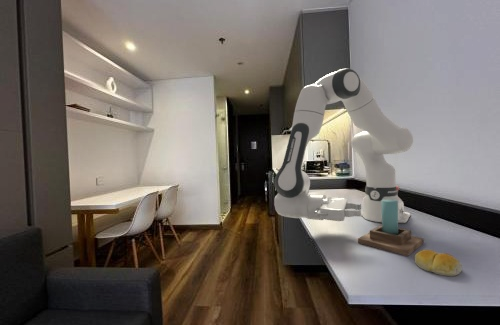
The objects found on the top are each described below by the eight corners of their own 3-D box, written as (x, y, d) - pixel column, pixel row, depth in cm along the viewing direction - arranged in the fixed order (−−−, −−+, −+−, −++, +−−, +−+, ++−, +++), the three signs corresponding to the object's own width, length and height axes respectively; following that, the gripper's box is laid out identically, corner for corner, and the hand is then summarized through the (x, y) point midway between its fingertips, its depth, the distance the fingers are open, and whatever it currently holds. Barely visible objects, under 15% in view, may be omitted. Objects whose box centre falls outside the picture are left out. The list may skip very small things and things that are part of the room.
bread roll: (422, 257, 64) (422, 243, 64) (465, 270, 57) (465, 254, 57) (407, 266, 60) (407, 250, 60) (451, 281, 53) (451, 263, 52)
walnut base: (377, 232, 85) (376, 221, 85) (423, 243, 74) (423, 230, 74) (358, 242, 76) (357, 230, 76) (407, 256, 65) (407, 241, 65)
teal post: (384, 234, 78) (383, 199, 78) (399, 237, 75) (398, 200, 75) (380, 238, 75) (380, 201, 74) (396, 241, 72) (396, 202, 72)
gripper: (312, 204, 75) (360, 207, 69) (322, 194, 93) (361, 195, 87) (313, 223, 75) (360, 228, 69) (323, 209, 93) (361, 212, 87)
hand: (361, 209), depth 78 cm, fingers open, 8 cm apart
